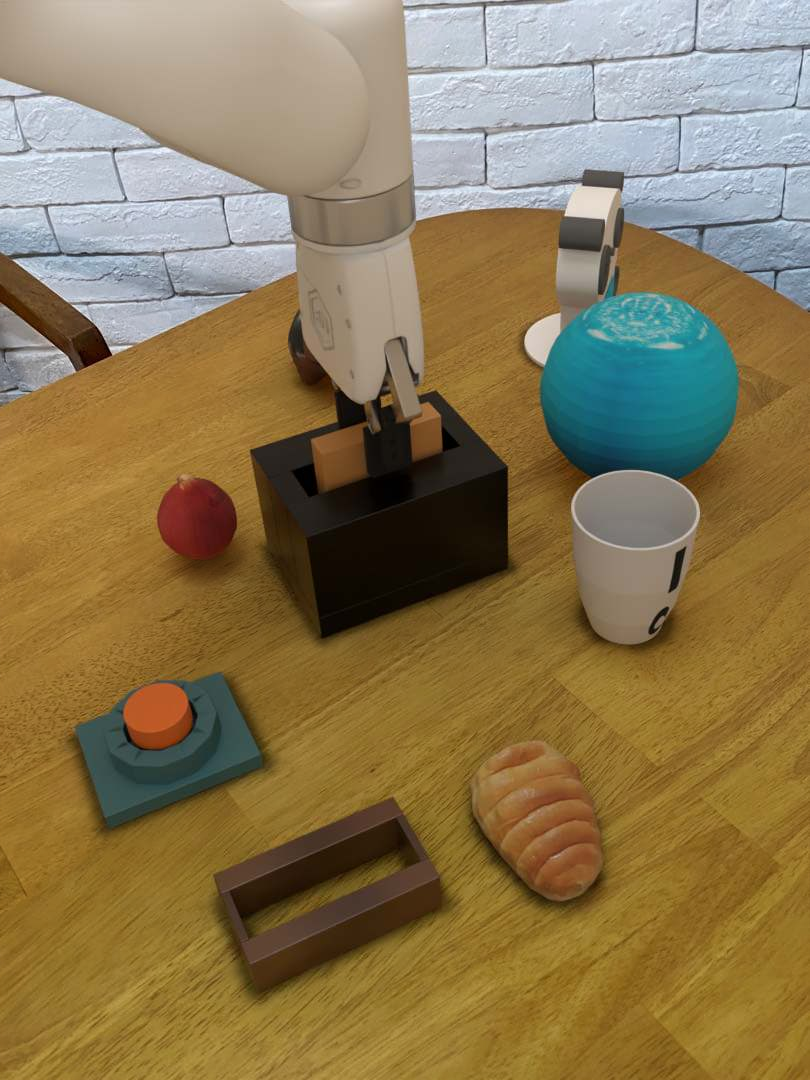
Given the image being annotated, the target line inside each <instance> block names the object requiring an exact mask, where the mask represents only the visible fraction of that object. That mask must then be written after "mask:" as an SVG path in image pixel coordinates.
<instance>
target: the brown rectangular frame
mask: <svg viewBox="0 0 810 1080" xmlns="http://www.w3.org/2000/svg"><path fill="white" fill-rule="evenodd" d="M396 849H399V850H400V851H401V854H402V855H403V857H404V858H405V861H406V862H407V864H408V866H407V867H405V868H403V869H401V870H398V871H396V872H394V873H392V874H389V875H387V876H386V877H383V878H380V879H379V880H376V881H374V882H372V883H369V884H368V885H366V886H363V887H361V888H359V889H357V890H354V891H353V892H350V893H348V894H345V895H344V896H341V897H339V898H337V899H334V900H333V901H330V902H328V903H326V904H324V905H321V906H319V907H316V908H315V909H313V910H310V911H308V912H306V913H304V914H302V915H300V916H297V917H295V918H293V919H290V920H289V921H285V922H284V923H282V924H279V925H278V926H275V927H273V928H271V929H269V930H267V931H264V932H262V933H259V934H258V935H255V936H253V937H251V938H250V937H249V935H248V932H247V929H246V927H245V925H244V922H243V920H242V918H244V917H247V916H248V915H250V914H253V913H255V912H258V911H260V910H262V909H264V908H267V907H269V906H271V905H273V904H275V903H277V902H279V901H282V900H284V899H286V898H289V897H291V896H293V895H295V894H297V893H300V892H302V891H305V890H307V889H308V888H311V887H313V886H316V885H318V884H319V883H322V882H324V881H327V880H329V879H331V878H333V877H336V876H338V875H341V874H342V873H344V872H346V871H349V870H350V869H353V868H356V867H358V866H360V865H363V864H364V863H367V862H368V861H372V860H374V859H376V858H378V857H380V856H383V855H385V854H387V853H389V852H391V851H393V850H396ZM213 879H214V883H215V886H216V889H217V893H218V896H219V899H220V903H221V905H222V908H223V910H224V913H225V915H226V918H227V920H228V922H229V925H230V929H231V931H232V933H233V936H234V938H235V940H236V943H237V946H238V948H239V950H240V953H241V956H242V958H243V960H244V963H245V965H246V967H247V971H248V973H249V975H250V978H251V981H252V983H253V986H254V988H255V991H256V993H262V992H263V991H265V990H267V989H270V988H272V987H274V986H276V985H278V984H280V983H282V982H285V981H286V980H289V979H290V978H293V977H295V976H297V975H299V974H302V973H304V972H306V971H308V970H310V969H313V968H315V967H316V966H318V965H321V964H324V963H326V962H327V961H329V960H331V959H333V958H335V957H338V956H340V955H342V954H344V953H346V952H348V951H351V950H352V949H354V948H357V947H359V946H361V945H363V944H365V943H368V942H369V941H371V940H374V939H376V938H378V937H380V936H382V935H385V934H386V933H389V932H391V931H394V930H395V929H397V928H399V927H401V926H403V925H405V924H407V923H408V924H409V923H410V922H412V921H414V920H416V919H419V918H420V917H423V916H424V915H427V914H429V913H431V912H433V911H435V910H438V909H440V908H442V907H443V901H442V888H441V875H440V874H439V873H438V871H437V869H436V867H435V866H434V863H433V862H432V860H431V859H430V857H429V855H428V854H427V852H426V850H425V848H424V847H423V845H422V843H421V841H420V840H419V838H418V836H417V835H416V833H415V831H414V829H413V827H412V826H411V824H410V822H409V821H408V819H407V817H406V815H404V812H403V811H402V808H401V807H400V805H399V804H398V802H397V800H396V798H395V797H394V796H391V797H389V798H387V799H384V800H382V801H380V802H377V803H374V804H372V805H371V806H367V807H366V808H364V809H361V810H359V811H356V812H354V813H351V814H350V815H347V816H344V817H343V818H340V819H337V820H336V821H334V822H331V823H329V824H327V825H323V826H322V827H319V828H317V829H315V830H313V831H310V832H308V833H306V834H303V835H301V836H299V837H297V838H294V839H292V840H290V841H287V842H285V843H283V844H280V845H278V846H275V847H272V848H271V849H269V850H266V851H263V852H262V853H259V854H257V855H255V856H252V857H250V858H248V859H245V860H243V861H241V862H239V863H236V864H234V865H232V866H230V867H227V868H225V869H222V870H220V871H217V872H215V873H214V874H213Z"/></svg>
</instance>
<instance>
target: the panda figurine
mask: <svg viewBox="0 0 810 1080" xmlns="http://www.w3.org/2000/svg"><path fill="white" fill-rule="evenodd" d="M624 184H625V172H624V171H615V170H614V171H613V170H601V169H587V168H584V170H583V172H582V177H581V185H576V186H575V188H574V189H573V190H572V192H571V195H570V197H569V199H568V202H567V206H566V207H565V211H564V215H562V216H561V219H560V224H559V229H558V240H557V241H558V243H557V244H558V252H557V260H556V271H555V295H556V300H557V303H558V305H559V306H560V312H557V313H554V314H551V315H548V316H546V317H543V318H541V319H540V320H538V321H536V322H535V323H534V324H532V325H531V326H530V327H529V328H528V330H527V332H526V334H525V336H524V350H525V352H526V355H527V356H528V358H530V360H531V361H533V362H534V363H535V364H537V365H538V366H540V367H541V368H543V369H544V367H545V363H546V361H547V358H548V355H549V352H550V349H551V347H552V345H553V344H554V342H555V340H556V338H557V337H558V336H559V334H560V333H561V332H562V331H563V329H564V328H565V327H566V326H567V325H568V324H569V323H570V322H571V321H572V320H573V319H574V318H575V317H577V316H578V315H579V314H580V313H581V312H582V311H584V310H585V309H587V308H589V307H591V306H593V305H594V304H596V303H598V302H601V301H603V300H605V299H607V298H610V297H614V296H617V293H618V287H619V282H620V265H616V264H617V259H618V253H619V252H618V251H619V248H620V246H621V243H622V239H623V232H624V225H625V208H624V207H622V194H623V191H624Z"/></svg>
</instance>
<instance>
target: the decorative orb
mask: <svg viewBox="0 0 810 1080" xmlns="http://www.w3.org/2000/svg"><path fill="white" fill-rule="evenodd" d="M739 378H740V377H739V371H738V366H737V363H736V360H735V357H734V354H733V352H732V349H731V347H730V346H729V344H728V342H727V339H726V338H725V336H724V334H723V333H722V331H721V329H720V328H719V327H718V326H717V325H716V324H715V322H713V321H712V320H711V319H710V318H709V317H708V316H706V315H705V314H704V313H703V312H702V311H701V310H699V309H698V308H697V307H695V306H693V305H692V304H690V303H688V302H686V301H683V300H681V299H679V298H677V297H674V296H670V295H667V294H662V293H658V292H646V291H640V292H639V291H638V292H628V293H622V294H619V295H616V296H614V297H610V298H607V299H605V300H603V301H601V302H598V303H596V304H594V305H593V306H591V307H589V308H587V309H585V310H584V311H582V312H581V313H580V314H579V315H578V316H577V317H575V318H574V319H573V320H572V321H571V322H570V323H569V324H568V325H567V326H566V327H565V328H564V329H563V331H562V332H561V333H560V334H559V336H558V337H557V338H556V340H555V342H554V344H553V345H552V347H551V349H550V352H549V355H548V358H547V361H546V363H545V367H544V368H543V370H542V374H541V376H540V382H539V399H540V407H541V412H542V415H543V420H544V423H545V427H546V431H547V433H548V436H549V437H550V439H551V442H552V443H553V444H554V445H555V447H556V448H557V449H558V451H560V453H561V454H562V455H563V456H564V458H565V459H566V460H567V461H568V463H569V464H570V465H571V466H573V468H575V469H576V470H577V471H580V472H581V473H583V474H584V475H586V476H587V477H589V478H590V479H593V478H595V477H597V476H599V475H602V474H605V473H609V472H614V471H622V470H640V471H648V472H653V473H657V474H661V475H664V476H667V477H669V478H671V479H673V480H675V481H677V482H679V481H680V480H682V479H683V478H685V477H687V476H688V475H690V474H692V473H693V472H695V471H697V470H698V469H700V468H702V466H703V465H705V464H706V463H707V462H708V461H709V460H711V458H712V456H713V455H714V454H715V452H716V451H717V449H718V448H719V447H720V446H721V444H722V443H723V442H724V440H725V439H726V437H727V436H728V434H729V432H730V431H731V428H732V427H733V424H734V421H735V417H736V413H737V407H738V398H739V388H740V387H739V385H740V379H739Z"/></svg>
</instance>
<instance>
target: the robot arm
mask: <svg viewBox="0 0 810 1080" xmlns="http://www.w3.org/2000/svg"><path fill="white" fill-rule="evenodd" d="M405 18H406V17H405V9H404V2H403V0H0V79H2V80H5V81H6V82H11V83H13V84H16V85H19V86H21V87H26V88H29V89H32V90H35V91H38V92H42V93H45V94H48V95H52V96H55V97H58V98H61V99H64V100H67V101H69V102H73V103H74V104H75V103H76V104H78V105H81V106H84V107H85V108H86V107H87V108H89V109H92V110H94V111H97V112H99V113H102V114H104V115H107V116H109V117H111V118H114V119H116V120H118V121H121V122H124V123H126V124H129V125H131V126H133V127H135V128H138V129H139V130H140V131H141V132H142V133H143V134H144V135H146V136H147V137H148V138H150V139H151V140H153V141H154V142H156V143H158V144H159V145H161V146H164V147H165V148H167V149H168V150H171V151H174V152H176V153H179V154H181V155H183V156H186V157H187V158H190V159H193V160H195V161H197V162H200V163H202V164H204V165H208V166H211V167H213V168H216V169H218V170H220V171H223V172H225V173H228V174H231V175H232V176H235V177H237V178H240V179H242V180H244V181H246V182H249V183H251V184H253V185H255V186H257V187H259V188H262V189H264V190H266V191H269V192H271V193H275V194H277V195H282V196H284V197H285V196H286V199H287V207H288V214H289V222H290V231H291V235H292V237H293V240H295V243H294V244H295V246H294V247H295V264H296V265H295V267H296V278H297V292H298V301H299V309H300V315H301V325H302V333H303V338H304V341H305V343H306V345H307V347H308V349H309V350H310V352H311V353H312V354H313V356H314V357H315V358H316V359H317V361H318V362H319V363H320V364H321V366H322V367H323V368H324V369H325V371H326V372H327V373H328V374H329V375H328V376H329V377H330V379H331V384H332V386H333V388H334V389H335V390H336V391H334V392H333V394H334V395H333V396H334V401H335V402H334V405H335V412H336V419H337V420H336V422H338V429H339V430H342V429H345V428H348V427H351V426H354V425H357V424H361V423H364V422H367V424H368V426H366V427H363V438H364V448H365V457H366V467H367V473H368V474H369V475H370V477H371V478H377V477H380V476H383V475H386V474H389V473H392V472H395V471H397V470H400V469H403V468H406V467H409V466H410V465H411V464H412V446H411V432H410V423H411V422H412V420H413V419H416V418H419V417H421V416H422V410H421V406H420V403H419V400H418V396H419V395H418V393H417V389H416V388H418V387H420V385H421V384H422V382H423V379H424V377H425V345H424V344H425V343H424V332H423V322H422V320H423V319H422V313H421V304H420V295H419V288H418V287H419V286H418V281H417V273H416V268H415V267H416V266H415V262H414V261H415V260H414V255H413V250H412V244H411V240H410V235H412V233H413V232H414V230H415V229H416V226H417V208H416V207H417V206H416V192H415V191H416V190H415V175H414V157H413V141H412V139H413V138H412V122H411V121H412V120H411V106H410V105H411V103H410V86H409V85H410V84H409V71H408V70H409V69H408V54H407V53H408V52H407V35H406V34H407V33H406V19H405ZM337 390H338V391H337ZM388 395H391V399H392V403H390V404H388V405H385V406H382V399H381V398H382V397H384V396H388ZM382 407H383V408H382Z"/></svg>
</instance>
